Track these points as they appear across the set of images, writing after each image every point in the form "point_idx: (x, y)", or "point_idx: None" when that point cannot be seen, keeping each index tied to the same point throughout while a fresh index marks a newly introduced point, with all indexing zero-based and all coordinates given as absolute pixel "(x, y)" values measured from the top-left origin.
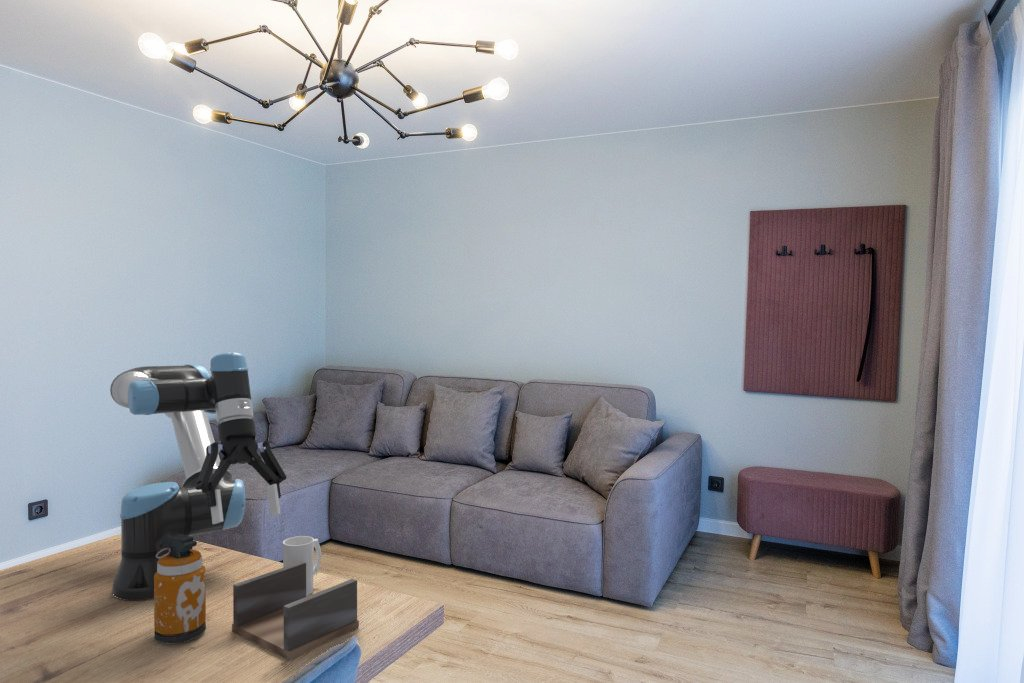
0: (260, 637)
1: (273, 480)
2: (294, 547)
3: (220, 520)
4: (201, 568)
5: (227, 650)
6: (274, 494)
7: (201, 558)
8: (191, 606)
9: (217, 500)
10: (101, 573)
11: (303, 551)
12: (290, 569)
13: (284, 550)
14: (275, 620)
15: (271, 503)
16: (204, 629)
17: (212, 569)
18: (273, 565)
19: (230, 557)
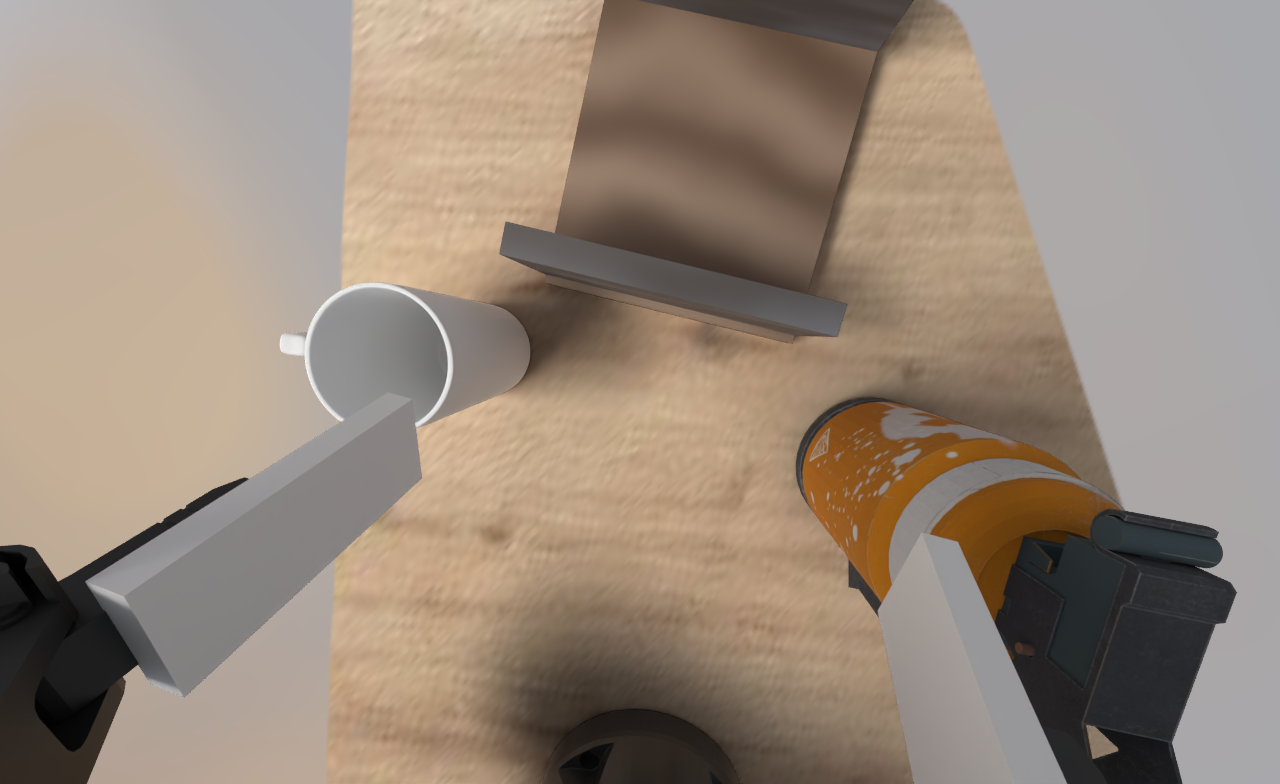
0: (837, 184)
1: (42, 656)
2: (447, 326)
3: (953, 548)
4: (947, 465)
5: (887, 263)
6: (268, 508)
7: (969, 488)
8: (944, 418)
9: (1051, 757)
10: None
11: (430, 296)
12: (588, 242)
13: (462, 386)
14: (720, 230)
15: (347, 509)
16: (836, 407)
17: (460, 737)
18: (349, 584)
19: (361, 758)
